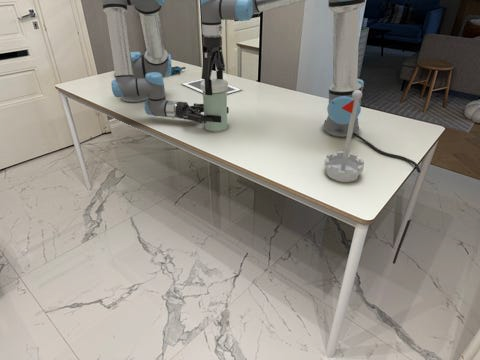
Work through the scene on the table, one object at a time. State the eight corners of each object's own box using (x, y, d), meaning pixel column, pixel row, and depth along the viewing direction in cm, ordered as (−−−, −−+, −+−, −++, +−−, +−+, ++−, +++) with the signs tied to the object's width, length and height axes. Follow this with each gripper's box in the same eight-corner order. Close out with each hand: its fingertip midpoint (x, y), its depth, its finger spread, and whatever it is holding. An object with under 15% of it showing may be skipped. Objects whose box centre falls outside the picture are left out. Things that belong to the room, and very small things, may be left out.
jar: (224, 121, 159) (223, 80, 148) (229, 130, 151) (228, 87, 140) (203, 123, 157) (200, 82, 146) (207, 132, 148) (204, 89, 138)
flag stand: (346, 161, 127) (361, 81, 110) (369, 179, 117) (390, 94, 100) (316, 168, 123) (327, 86, 106) (337, 186, 113) (353, 99, 96)
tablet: (181, 84, 205) (181, 83, 205) (208, 77, 216) (208, 77, 216) (213, 98, 185) (213, 97, 185) (241, 90, 196) (241, 89, 196)
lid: (197, 92, 140) (197, 86, 139) (205, 83, 150) (204, 78, 148) (224, 93, 138) (224, 87, 137) (230, 85, 148) (230, 79, 146)
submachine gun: (171, 61, 241) (190, 66, 224) (171, 66, 243) (190, 72, 226) (125, 69, 222) (142, 76, 205) (126, 75, 224) (143, 82, 207)
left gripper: (188, 108, 165) (232, 113, 161) (168, 127, 147) (216, 133, 142) (187, 93, 161) (231, 97, 156) (166, 111, 143) (216, 116, 138)
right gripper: (208, 42, 122) (211, 100, 134) (231, 31, 141) (232, 83, 153) (189, 40, 124) (194, 98, 136) (215, 30, 143) (217, 81, 155)
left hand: (224, 114), depth 149 cm, fingers closed on jar, 10 cm apart
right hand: (214, 90), depth 144 cm, fingers closed on lid, 11 cm apart
